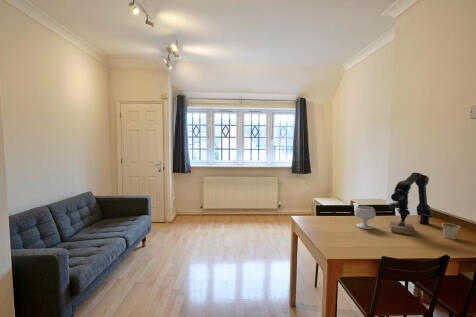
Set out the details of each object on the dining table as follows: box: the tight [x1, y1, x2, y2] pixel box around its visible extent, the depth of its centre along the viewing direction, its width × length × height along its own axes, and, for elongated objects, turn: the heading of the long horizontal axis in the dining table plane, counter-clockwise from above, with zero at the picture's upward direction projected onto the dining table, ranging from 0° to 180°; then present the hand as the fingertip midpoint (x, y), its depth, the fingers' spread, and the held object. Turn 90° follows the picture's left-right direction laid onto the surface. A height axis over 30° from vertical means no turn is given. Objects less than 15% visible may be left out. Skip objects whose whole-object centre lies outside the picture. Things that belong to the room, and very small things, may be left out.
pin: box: [399, 214, 406, 226], centre depth 176 cm, size 3×3×9 cm
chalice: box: [354, 205, 377, 230], centre depth 186 cm, size 14×14×15 cm
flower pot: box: [441, 222, 461, 240], centre depth 163 cm, size 9×9×9 cm
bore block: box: [389, 220, 417, 237], centre depth 177 cm, size 14×14×4 cm
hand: (402, 220), depth 176 cm, fingers closed on pin, 3 cm apart
